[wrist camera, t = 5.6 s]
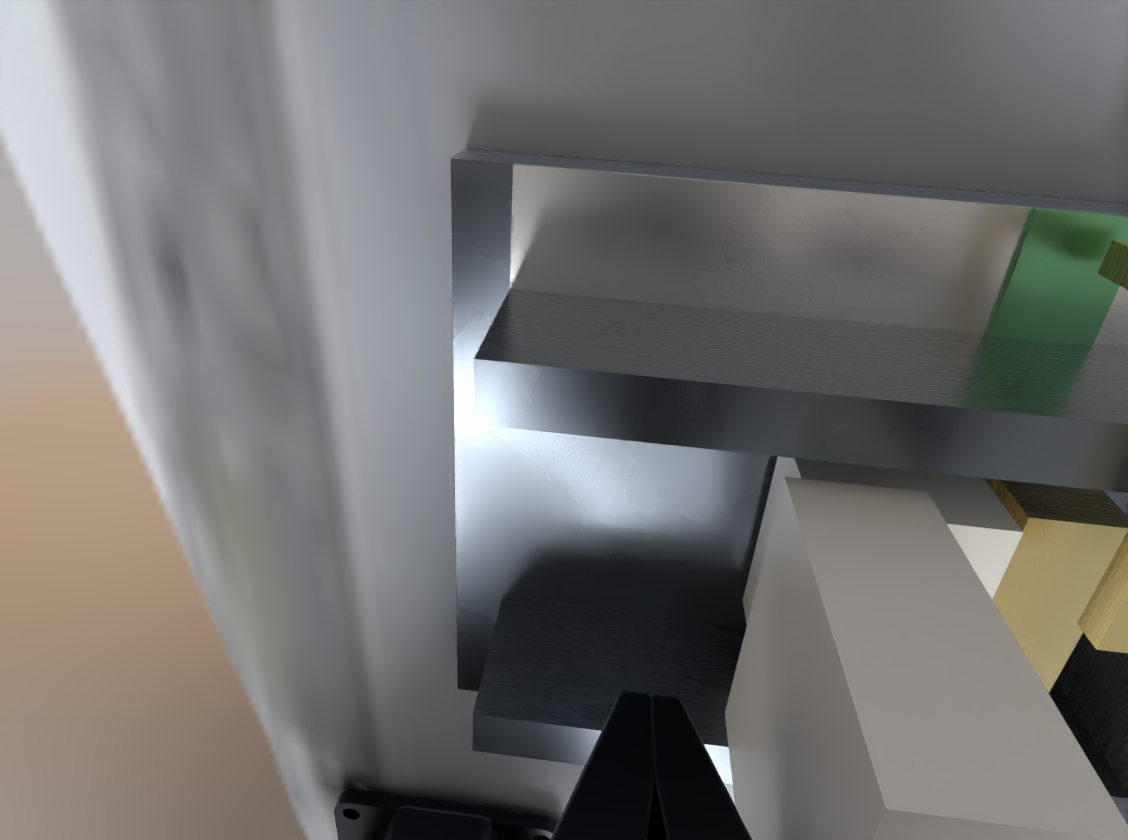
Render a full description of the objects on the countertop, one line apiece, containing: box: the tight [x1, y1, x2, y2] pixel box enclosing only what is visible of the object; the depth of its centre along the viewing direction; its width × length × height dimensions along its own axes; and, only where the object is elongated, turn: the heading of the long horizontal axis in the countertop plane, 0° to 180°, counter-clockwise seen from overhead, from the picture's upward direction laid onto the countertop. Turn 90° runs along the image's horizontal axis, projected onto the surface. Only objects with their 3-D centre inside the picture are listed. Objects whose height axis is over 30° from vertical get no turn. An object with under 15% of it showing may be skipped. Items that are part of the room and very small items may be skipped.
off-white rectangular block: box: [725, 456, 1128, 840], centre depth 10 cm, size 5×4×7 cm
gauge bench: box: [451, 149, 1128, 825], centre depth 12 cm, size 12×14×6 cm
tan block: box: [984, 240, 1128, 693], centre depth 11 cm, size 8×2×4 cm, turn 176°
